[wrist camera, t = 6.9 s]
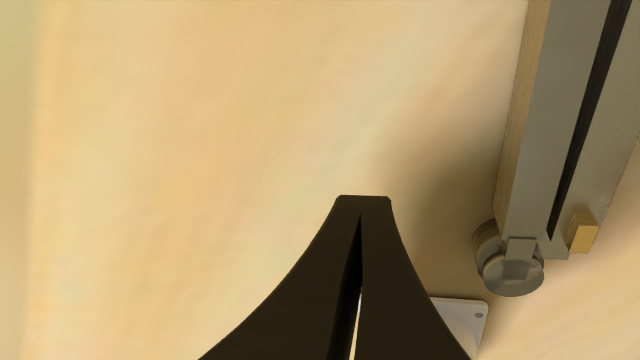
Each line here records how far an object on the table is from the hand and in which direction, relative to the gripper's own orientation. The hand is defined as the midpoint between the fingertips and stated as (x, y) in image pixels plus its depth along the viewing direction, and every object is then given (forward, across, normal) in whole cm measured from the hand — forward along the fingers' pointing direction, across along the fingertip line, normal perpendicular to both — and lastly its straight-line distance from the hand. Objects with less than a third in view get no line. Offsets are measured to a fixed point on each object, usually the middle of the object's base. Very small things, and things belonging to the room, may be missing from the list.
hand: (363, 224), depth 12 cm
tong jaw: (+10, -7, +2) cm, 12 cm away
